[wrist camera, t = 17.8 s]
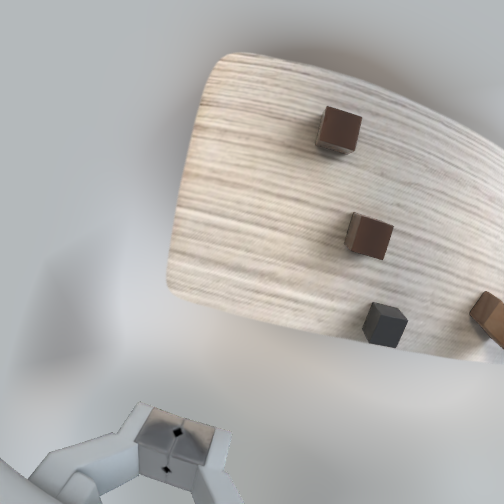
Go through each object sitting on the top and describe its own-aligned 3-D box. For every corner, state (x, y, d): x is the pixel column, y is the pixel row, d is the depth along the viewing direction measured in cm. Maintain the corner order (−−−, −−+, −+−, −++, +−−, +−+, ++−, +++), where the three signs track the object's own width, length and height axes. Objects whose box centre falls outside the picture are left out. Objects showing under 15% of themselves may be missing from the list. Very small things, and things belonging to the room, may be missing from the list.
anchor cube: (361, 328, 37) (368, 343, 33) (372, 301, 36) (381, 314, 32) (387, 333, 37) (395, 348, 33) (398, 308, 36) (408, 320, 32)
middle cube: (344, 243, 35) (350, 250, 31) (353, 211, 34) (361, 215, 30) (373, 252, 35) (383, 260, 31) (382, 221, 34) (394, 226, 30)
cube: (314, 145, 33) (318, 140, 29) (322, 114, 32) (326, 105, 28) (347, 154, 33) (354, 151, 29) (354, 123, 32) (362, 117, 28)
